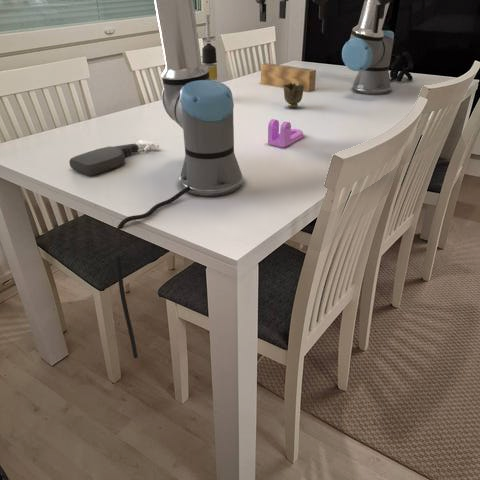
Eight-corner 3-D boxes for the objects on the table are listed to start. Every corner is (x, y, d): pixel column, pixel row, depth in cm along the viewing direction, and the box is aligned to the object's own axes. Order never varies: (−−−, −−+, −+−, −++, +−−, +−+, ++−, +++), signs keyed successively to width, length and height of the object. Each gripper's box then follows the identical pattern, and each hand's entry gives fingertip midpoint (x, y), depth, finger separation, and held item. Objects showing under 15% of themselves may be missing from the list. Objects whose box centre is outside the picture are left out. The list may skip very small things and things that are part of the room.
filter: (220, 99, 177) (217, 15, 161) (206, 100, 176) (202, 16, 160) (215, 96, 182) (212, 14, 166) (202, 97, 180) (197, 14, 164)
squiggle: (400, 92, 202) (376, 71, 205) (417, 76, 202) (392, 56, 205) (405, 81, 191) (380, 59, 194) (423, 64, 191) (397, 42, 194)
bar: (314, 89, 189) (316, 69, 185) (308, 91, 186) (309, 71, 182) (267, 81, 203) (267, 63, 199) (260, 83, 200) (260, 64, 196)
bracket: (283, 147, 130) (284, 124, 126) (267, 143, 133) (268, 120, 129) (305, 135, 139) (307, 113, 135) (290, 132, 142) (291, 110, 138)
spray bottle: (67, 168, 120) (139, 144, 136) (91, 178, 114) (163, 151, 130) (65, 157, 118) (137, 134, 134) (89, 167, 112) (162, 142, 128)
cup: (279, 108, 165) (280, 86, 160) (287, 103, 170) (288, 82, 166) (298, 111, 162) (299, 88, 157) (305, 105, 167) (307, 83, 163)
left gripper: (407, -64, 111) (393, 30, 122) (306, -61, 112) (301, 31, 124) (415, -65, 104) (399, 34, 115) (308, -63, 106) (302, 35, 117)
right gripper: (284, -41, 184) (282, 16, 195) (246, -40, 168) (246, 22, 179) (299, -41, 180) (297, 17, 191) (262, -41, 164) (261, 23, 175)
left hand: (349, 32), depth 120 cm, fingers open, 13 cm apart
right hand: (272, 20), depth 185 cm, fingers open, 13 cm apart
